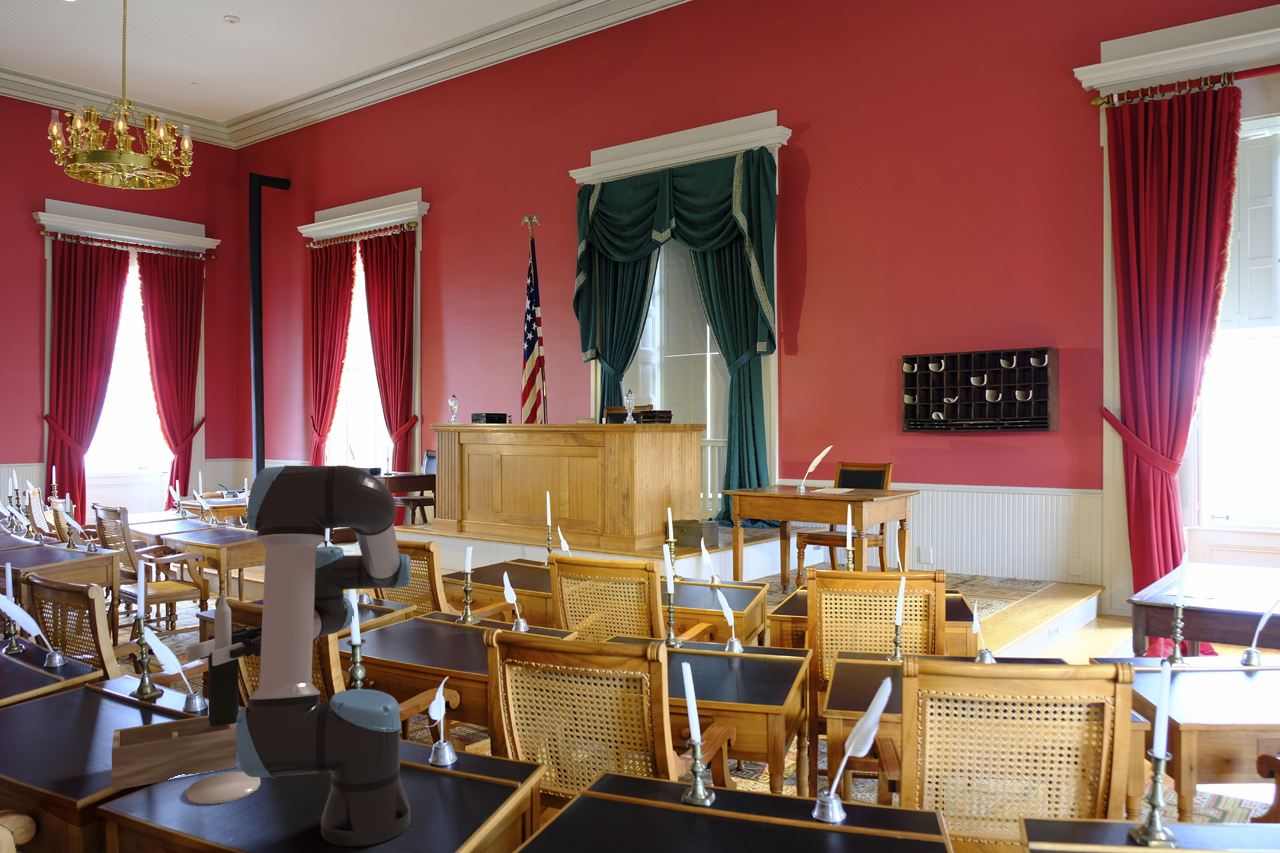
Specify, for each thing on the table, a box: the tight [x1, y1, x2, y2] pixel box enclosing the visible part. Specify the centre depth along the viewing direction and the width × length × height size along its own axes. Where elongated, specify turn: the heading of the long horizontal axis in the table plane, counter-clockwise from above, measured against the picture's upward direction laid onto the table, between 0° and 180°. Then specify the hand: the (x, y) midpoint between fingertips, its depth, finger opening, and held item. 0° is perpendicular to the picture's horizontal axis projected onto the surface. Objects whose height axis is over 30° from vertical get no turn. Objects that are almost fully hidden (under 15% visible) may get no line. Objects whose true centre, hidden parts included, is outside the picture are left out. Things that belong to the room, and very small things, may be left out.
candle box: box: [111, 715, 238, 792], centre depth 178 cm, size 12×22×8 cm, turn 119°
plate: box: [185, 771, 261, 805], centre depth 168 cm, size 13×13×1 cm
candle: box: [207, 592, 240, 727], centre depth 168 cm, size 5×5×25 cm
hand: (200, 656), depth 163 cm, fingers closed on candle, 6 cm apart
